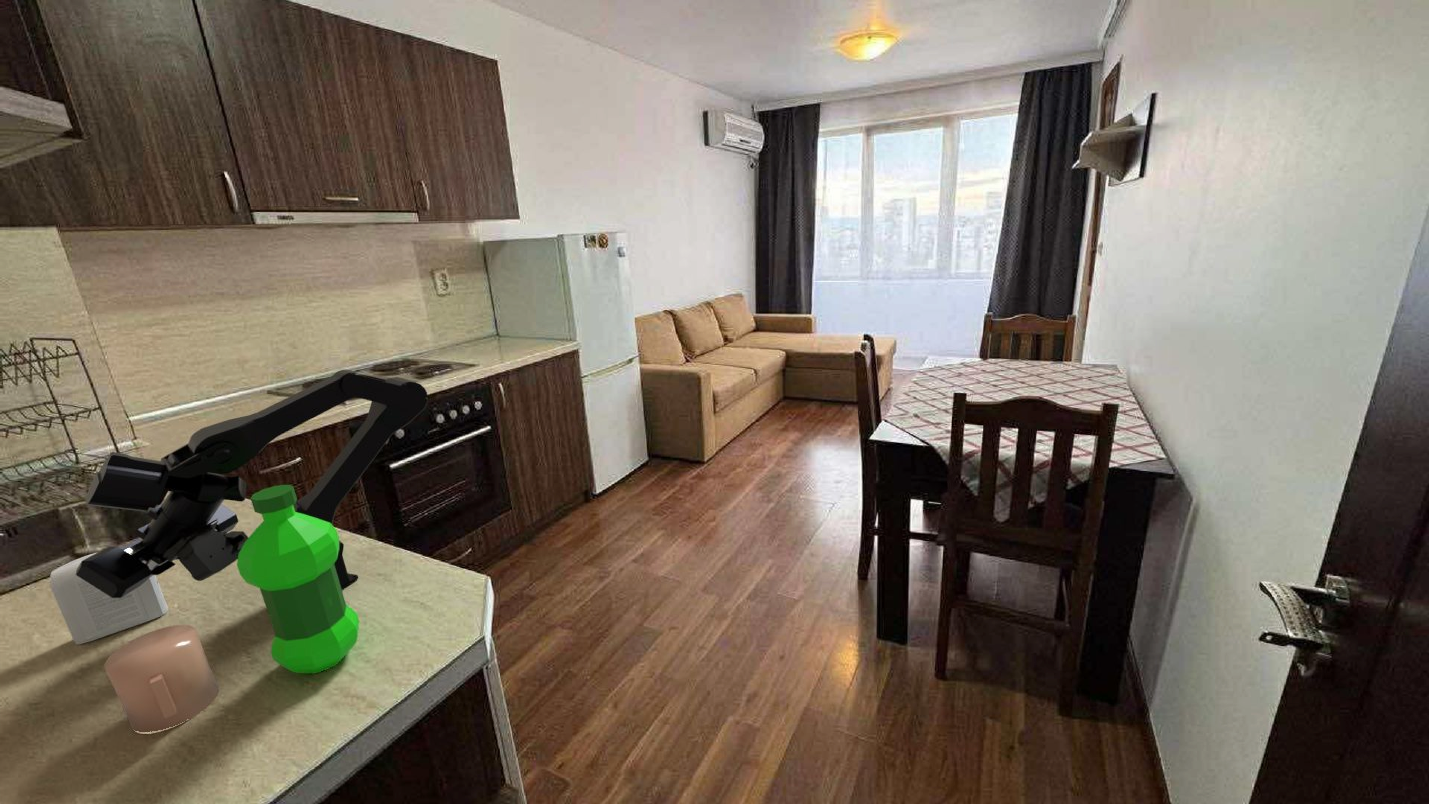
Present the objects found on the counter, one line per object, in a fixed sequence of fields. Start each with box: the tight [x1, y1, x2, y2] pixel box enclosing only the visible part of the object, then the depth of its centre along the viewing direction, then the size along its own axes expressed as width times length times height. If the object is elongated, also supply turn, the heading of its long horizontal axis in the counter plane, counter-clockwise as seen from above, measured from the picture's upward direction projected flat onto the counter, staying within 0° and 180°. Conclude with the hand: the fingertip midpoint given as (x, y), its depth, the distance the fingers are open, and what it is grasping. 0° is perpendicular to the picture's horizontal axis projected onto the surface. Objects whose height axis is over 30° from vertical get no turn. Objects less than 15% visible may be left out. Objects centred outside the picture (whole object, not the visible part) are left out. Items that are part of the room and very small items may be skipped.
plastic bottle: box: [236, 484, 360, 675], centre depth 74 cm, size 10×10×25 cm
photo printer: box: [49, 551, 169, 645], centre depth 85 cm, size 10×4×12 cm, turn 134°
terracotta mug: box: [104, 624, 219, 732], centre depth 69 cm, size 9×8×9 cm
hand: (141, 579), depth 84 cm, fingers closed
